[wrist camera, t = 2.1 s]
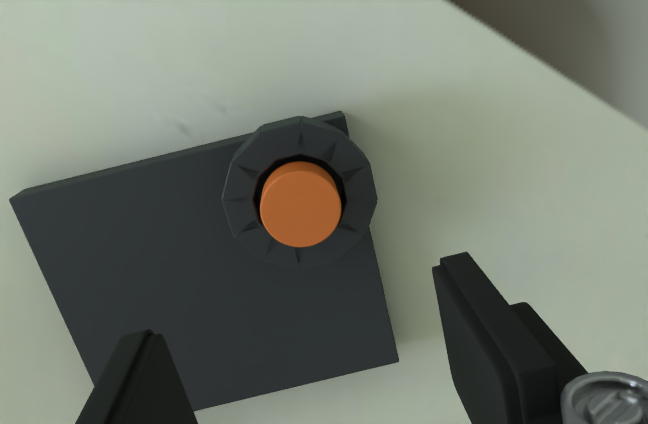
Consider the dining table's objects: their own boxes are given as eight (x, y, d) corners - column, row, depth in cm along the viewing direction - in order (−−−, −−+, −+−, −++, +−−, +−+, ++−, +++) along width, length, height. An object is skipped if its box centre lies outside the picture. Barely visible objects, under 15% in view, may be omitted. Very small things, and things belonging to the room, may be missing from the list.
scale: (349, 97, 23) (358, 107, 20) (402, 343, 27) (416, 381, 24) (19, 179, 23) (-19, 201, 20) (122, 411, 27) (103, 456, 24)
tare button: (328, 152, 21) (331, 161, 19) (345, 223, 22) (349, 237, 20) (252, 171, 21) (250, 182, 20) (273, 240, 22) (272, 256, 21)
